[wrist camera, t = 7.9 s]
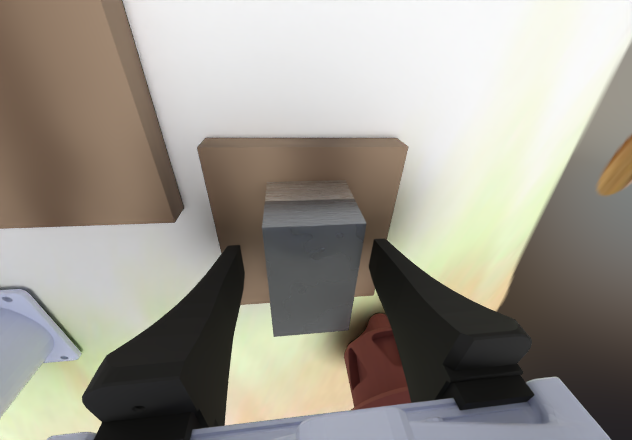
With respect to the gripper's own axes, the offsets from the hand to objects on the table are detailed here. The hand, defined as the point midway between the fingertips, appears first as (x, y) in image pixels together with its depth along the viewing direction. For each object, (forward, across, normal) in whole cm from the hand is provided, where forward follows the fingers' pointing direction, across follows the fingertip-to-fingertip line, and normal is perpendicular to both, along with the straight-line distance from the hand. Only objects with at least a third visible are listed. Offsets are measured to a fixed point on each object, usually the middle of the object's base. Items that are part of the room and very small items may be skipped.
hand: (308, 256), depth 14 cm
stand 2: (+3, 0, 0) cm, 3 cm away
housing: (+2, 0, 0) cm, 2 cm away
